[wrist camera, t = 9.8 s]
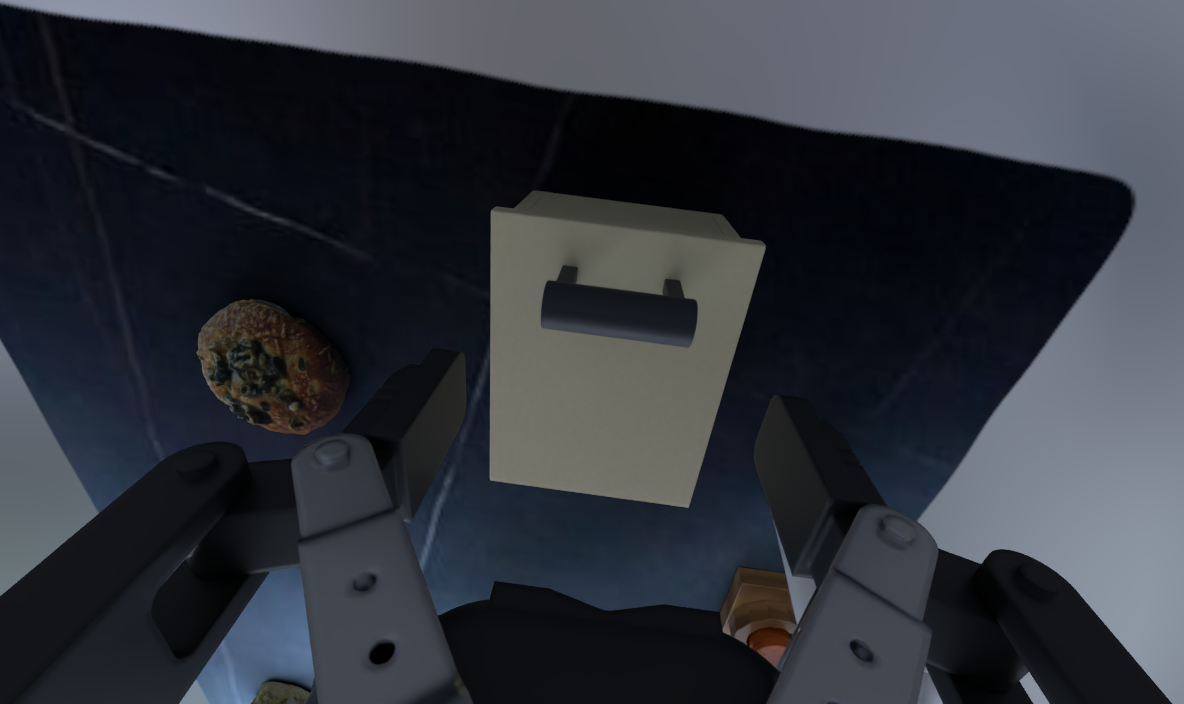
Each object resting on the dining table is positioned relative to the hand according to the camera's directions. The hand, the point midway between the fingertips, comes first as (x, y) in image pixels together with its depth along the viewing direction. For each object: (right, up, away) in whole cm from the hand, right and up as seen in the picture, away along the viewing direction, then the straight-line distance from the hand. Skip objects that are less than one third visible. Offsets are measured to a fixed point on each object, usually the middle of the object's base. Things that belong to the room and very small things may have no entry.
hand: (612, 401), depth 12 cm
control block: (+16, -23, +33) cm, 43 cm away
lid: (0, 0, +12) cm, 12 cm away
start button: (+16, -25, +30) cm, 42 cm away
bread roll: (-24, 0, +24) cm, 34 cm away
